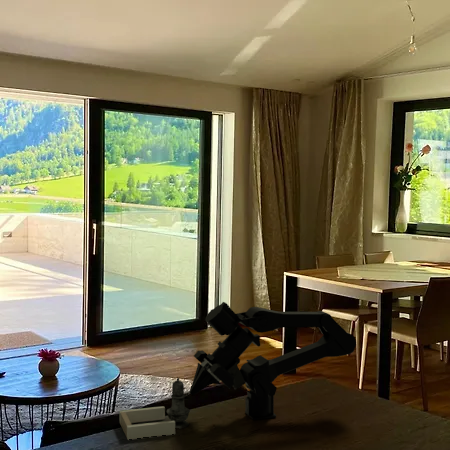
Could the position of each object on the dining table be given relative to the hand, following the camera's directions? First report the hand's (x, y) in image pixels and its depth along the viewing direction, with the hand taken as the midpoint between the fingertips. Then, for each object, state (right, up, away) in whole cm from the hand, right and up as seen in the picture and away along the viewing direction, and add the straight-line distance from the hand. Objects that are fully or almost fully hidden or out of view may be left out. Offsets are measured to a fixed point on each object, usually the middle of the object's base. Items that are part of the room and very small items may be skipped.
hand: (190, 393), depth 165 cm
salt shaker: (-3, -8, -1) cm, 8 cm away
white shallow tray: (-11, -8, -3) cm, 14 cm away
